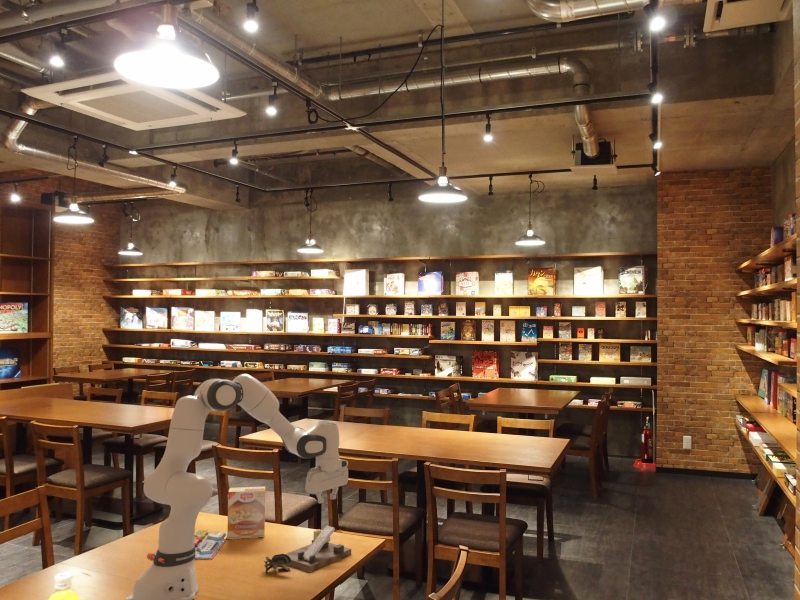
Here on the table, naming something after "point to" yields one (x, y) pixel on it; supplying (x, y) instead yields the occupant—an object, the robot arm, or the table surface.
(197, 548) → the puzzle board
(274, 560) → the eagle figurine
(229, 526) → the coffeecake box
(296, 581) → the table surface
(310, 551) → the bar
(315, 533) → the brass bolt
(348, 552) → the base
